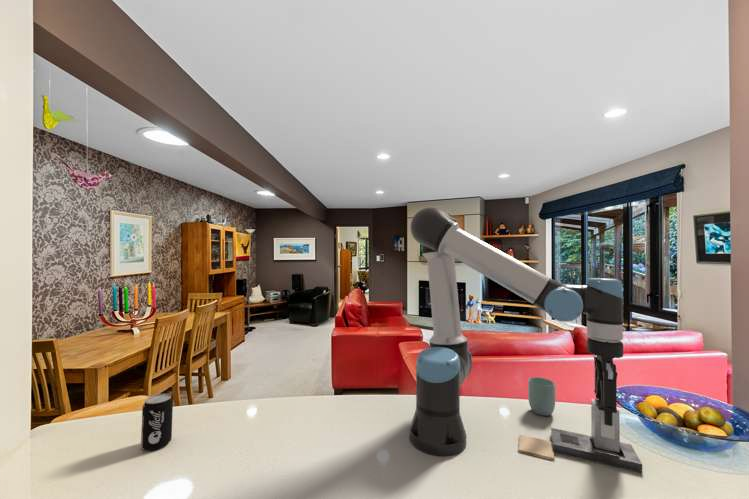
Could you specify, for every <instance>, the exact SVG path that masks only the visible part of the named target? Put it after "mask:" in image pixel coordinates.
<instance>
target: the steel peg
mask: <svg viewBox="0 0 749 499" xmlns="http://www.w3.org/2000/svg"><path fill="white" fill-rule="evenodd" d="M590 401H591V402H590V403H591V404H590V406H591V409H590V410H591V418H590V419H591V420H590V421H591V435H590V436H592V440H593V443H594V446H595V447H594V448H598V449H602V450H606V451H609V452H610V451H612V452H616V453H619V454H620V442H621V440H620V438H621V437H620V434H621V433H620V431H621V430H620V425H621V424H620V409H619V407H617V413H614V425H615V439H611V438H607V437H602V436H601V435H600V410H599V409H598V407H602V403H601V400H598V399H597V400H596V398H591V400H590Z"/></svg>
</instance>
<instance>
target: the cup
mask: <svg viewBox="0 0 749 499" xmlns="http://www.w3.org/2000/svg"><path fill="white" fill-rule="evenodd" d="M527 391H528V392H527V393H528V394H527V396H528V404H529V407H530V409H531V410H532V411H533V412H534V413H535V414H537V415H540V416H550V415H552V414H553V413H554V411H555V407H556V384H555V382H554V381H553V380H551V379H549V378H545V377H540V376H539V377H537V376H534V377H533V376H532V377H528V381H527Z"/></svg>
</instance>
